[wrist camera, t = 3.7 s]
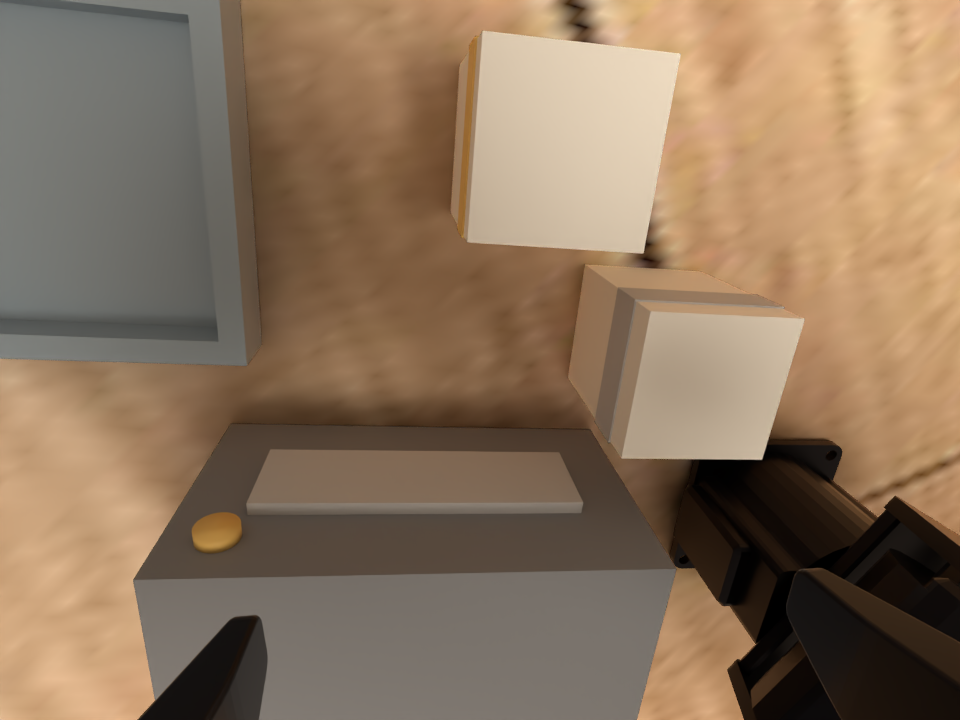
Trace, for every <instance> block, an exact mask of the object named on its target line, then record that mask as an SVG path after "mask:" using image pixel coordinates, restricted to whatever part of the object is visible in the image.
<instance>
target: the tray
mask: <svg viewBox="0 0 960 720" xmlns="http://www.w3.org/2000/svg"><path fill="white" fill-rule="evenodd" d="M261 345H262V338H261V322H260V307H259V291H258V275H257V260H256V244H255V228H254V212H253V197H252V181H251V165H250V149H249V134H248V118H247V102H246V87H245V71H244V55H243V39H242V24H241V8H240V0H0V359H31V360H64V361H97V362H131V363H164V364H197V365H231V366H247V365H248V364H249V362H250V361H251V359H252V358H253V357H254V355H255V354H256V352H257V351H258V350H259V348H260V347H261Z"/></svg>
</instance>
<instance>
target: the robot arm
mask: <svg viewBox="0 0 960 720" xmlns="http://www.w3.org/2000/svg"><path fill="white" fill-rule="evenodd" d="M829 451H830V452H829ZM828 452H829V453H828ZM827 453H828V454H827ZM826 454H827V455H826ZM841 456H842V449H841V448H840V447H839V446H838V445H836V444H835V443H833V442H832V441H815V440H768V442H767V445H766V449H765V452H764V455H763V458H762V460H733V459H694V462H693V466H692V470H691V474H690V478H689V482H688V486H687V487H686V489H685V490H684V494H683V498H682V502H681V506H680V510H679V514H678V518H677V522H676V526H675V530H674V541H673V545H672V548H671V552H670V558H671V560H672V561H673V563H674V564H675V566H676V567H678V568H696V570H697V571H698V573H699V574H700V576H701V577H702V579H703V580H704V582H705V583H706V585H707V586H708V588H709V589H710V591H711V592H712V594H713V595H714V597H715V598H716V600H717V601H718V602H719V603H720V604H721V605H722V606H730V607H731V609H732V610H733V612H734V613H735V615H736V616H737V618H738V619H739V620H740V622H741V623H742V625H743V626H744V628H745V629H746V631H747V632H748V634H749V635H750V637H751V638H752V639H753V641H754V642H755V644H756V645H755V646H754V647H753V648H752V649H751V650H750V651H749V652H748V653H747V654H746V655H745V656H744V657H743V658H742V659H741V660H739V659H737V660H736V661H735V662H734V663H733V664H732V665H731V666H730V667H729V668H728V669H727V670H728V674H729V677H730V680H731V683H732V686H733V688H734V691H735V694H736V697H737V700H738V703H739V706H740V709H741V712H742V715H743V718H744V720H960V536H959V535H958V534H956V533H955V532H953V531H951V530H950V529H948V528H947V527H945V526H943V525H942V524H940V523H939V522H937V521H935V520H934V519H932V518H931V517H929V516H927V515H926V514H924V513H923V512H921V511H919V510H918V509H916V508H914V507H913V506H911V505H910V504H908V503H906V502H905V501H903V500H902V499H900V498H898V497H897V496H894V497H893V498H892V499H891V500H890V501H889V503H888V504H887V505H886V506H885V507H884V508H885V509H886V510H885V511H884V512H883V513H882V514H881V515H880V516H879V518H878V517H877V516H876V515H874V514H873V513H872V512H871V511H869V510H868V509H867V508H866V507H864V506H863V505H862V504H861V503H860V502H858V501H857V500H856V499H855V498H853V497H852V496H851V495H850V494H848V493H847V492H846V491H845V490H843V489H842V488H841V487H840V486H839V485H837V484H836V483H835V482H834V481H833V478H834V475H835V472H836V470H837V467H838V464H839V462H840V459H841ZM683 555H685V556H683ZM682 556H683V557H682ZM680 557H681V558H680ZM267 664H268V654H267V647H266V642H265V636H264V630H263V624H262V620H261V618H260V617H259V616H257V615H249V616H237V617H233V618H231V619H230V620H229V621H228V622H227V623H226V624H225V625H224V626H223V627H222V628H221V629H220V630H219V631H218V633H217V634H216V635H215V636H214V637H213V638H212V639H211V640H210V641H209V642H208V643H207V645H206V646H205V647H204V648H203V649H202V650H201V651H200V652H199V653H198V654H197V655H196V657H195V658H194V659H193V660H192V661H191V662H190V663H189V664H188V665H187V666H186V667H185V669H184V670H183V671H182V672H181V673H180V674H179V675H178V676H177V677H176V678H175V679H174V680H173V682H172V683H171V684H170V685H169V686H168V687H167V688H166V689H165V690H164V691H163V692H162V694H161V695H160V696H159V697H158V698H157V699H156V700H155V701H154V702H153V703H152V704H151V706H150V707H149V708H148V709H147V710H146V711H145V712H144V713H143V714H142V715H141V716H140V718H139V719H138V720H259V716H260V710H261V703H262V697H263V691H264V685H265V679H266V673H267Z"/></svg>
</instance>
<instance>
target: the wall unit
mask: <svg viewBox="0 0 960 720" xmlns="http://www.w3.org/2000/svg"><path fill="white" fill-rule="evenodd" d="M675 573H676V567H675V566H674V564H673V562H672V561H671V559H670V558H669V556H668V554H667V553H666V551H665V550H664V548H663V546H662V545H661V543H660V542H659V540H658V538H657V537H656V535H655V533H654V532H653V530H652V529H651V527H650V525H649V524H648V522H647V521H646V519H645V517H644V516H643V514H642V512H641V511H640V509H639V508H638V506H637V504H636V503H635V501H634V500H633V498H632V496H631V495H630V493H629V492H628V490H627V488H626V487H625V485H624V483H623V482H622V480H621V479H620V477H619V475H618V474H617V472H616V471H615V469H614V467H613V466H612V464H611V462H610V461H609V459H608V458H607V456H606V454H605V453H604V451H603V450H602V448H601V446H600V445H599V443H598V441H597V440H596V438H595V437H594V435H593V433H592V432H591V430H588V429H527V428H465V427H403V426H342V425H280V424H230V426H229V427H228V429H227V431H226V432H225V434H224V435H223V437H222V439H221V440H220V442H219V443H218V445H217V447H216V448H215V450H214V451H213V453H212V455H211V456H210V458H209V459H208V461H207V463H206V464H205V466H204V467H203V469H202V471H201V472H200V474H199V475H198V477H197V479H196V480H195V482H194V483H193V485H192V487H191V488H190V490H189V491H188V493H187V495H186V496H185V498H184V499H183V501H182V503H181V504H180V506H179V507H178V509H177V511H176V512H175V514H174V515H173V517H172V519H171V520H170V522H169V523H168V525H167V527H166V528H165V530H164V531H163V533H162V535H161V536H160V538H159V539H158V541H157V543H156V544H155V546H154V547H153V549H152V551H151V552H150V554H149V555H148V557H147V559H146V560H145V562H144V563H143V565H142V567H141V568H140V570H139V571H138V573H137V575H136V576H135V578H134V579H133V582H134V587H135V593H136V598H137V604H138V609H139V615H140V620H141V626H142V631H143V637H144V642H145V648H146V653H147V659H148V664H149V670H150V675H151V681H152V686H153V692H154V697H155V700H156V699H157V698H158V697H159V696H160V695H161V694H162V692H163V691H164V690H165V689H166V688H167V687H168V686H169V685H170V684H171V683H172V682H173V680H174V679H175V678H176V677H177V676H178V675H179V674H180V673H181V672H182V671H183V670H184V669H185V667H186V666H187V665H188V664H189V663H190V662H191V661H192V660H193V659H194V658H195V657H196V655H197V654H198V653H199V652H200V651H201V650H202V649H203V648H204V647H205V646H206V645H207V643H208V642H209V641H210V640H211V639H212V638H213V637H214V636H215V635H216V634H217V633H218V631H219V630H220V629H221V628H222V627H223V626H224V625H225V624H226V623H227V622H228V621H229V620H230V619H231V618H233V617H237V616H249V615H257V616H259V617H260V618H261V620H262V624H263V630H264V636H265V642H266V647H267V654H268V664H267V673H266V679H265V685H264V691H263V697H262V703H261V710H260V716H259V720H637V717H638V713H639V710H640V706H641V702H642V698H643V694H644V691H645V687H646V683H647V679H648V675H649V672H650V668H651V664H652V660H653V656H654V653H655V649H656V645H657V641H658V637H659V634H660V630H661V626H662V622H663V618H664V615H665V611H666V607H667V603H668V599H669V596H670V592H671V588H672V584H673V580H674V577H675Z"/></svg>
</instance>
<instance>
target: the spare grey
mask: <svg viewBox="0 0 960 720" xmlns="http://www.w3.org/2000/svg"><path fill="white" fill-rule="evenodd" d="M784 308H785V307H784V306H781V305H779V304H777V303H775V302H772V301H770V300H768V299H766V298H764V297H761V296H759V295H755V294H750V293H747V292H745V291H743V290H741V289H739V288H736V287H734V286H732V285H730V284H728V283H725V282H723V281H721V280H719V279H717V278H714V277H712V276H710V275H708V274H706V273H704V272H701V271H690V270H673V269H656V268H639V267H622V266H605V265H588V264H585V267H584V274H583V281H582V287H581V294H580V300H579V307H578V314H577V320H576V327H575V334H574V340H573V347H572V354H571V360H570V367H569V374H568V379H569V380H570V382H571V383H572V385H573V386H574V388H575V389H576V391H577V392H578V394H579V395H580V397H581V398H582V400H583V401H584V403H585V404H586V406H587V407H588V409H589V410H590V412H591V413H592V415H593V416H594V418H595V421H594V422H595V423H596V425H597V426H598V428H599V429H600V431H601V433H602V434H603V436H604V437H605V439H606V440H607V442H608V443H611V444H612V445H613V447H614V448H615V450H616V451H617V453H618V454H619V456H620V457H621V459H733V460H762V458H763V455H764V452H765V449H766V445H767V442H768V439H769V436H770V432H771V429H772V426H773V422H774V419H775V416H776V413H777V409H778V406H779V403H780V399H781V396H782V393H783V390H784V386H785V383H786V380H787V376H788V373H789V370H790V367H791V363H792V360H793V357H794V354H795V350H796V347H797V344H798V340H799V337H800V334H801V331H802V327H803V324H804V321H805V319H804V318H802V317H800V316H798V315H796V314H793V313H791V312H789V311H787V310H785V309H784Z"/></svg>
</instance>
